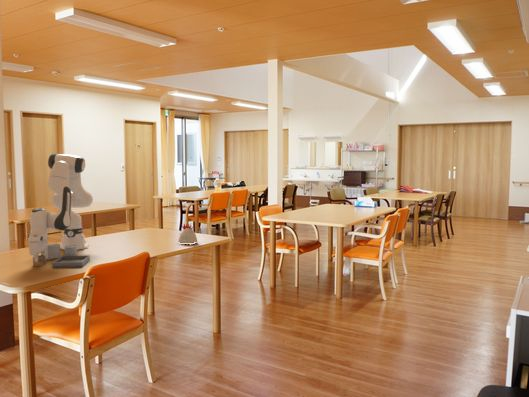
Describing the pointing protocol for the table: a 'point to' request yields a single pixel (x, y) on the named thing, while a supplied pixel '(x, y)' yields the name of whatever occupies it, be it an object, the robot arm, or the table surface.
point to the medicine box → (52, 251)
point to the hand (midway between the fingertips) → (39, 259)
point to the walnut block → (41, 260)
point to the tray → (70, 261)
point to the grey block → (71, 250)
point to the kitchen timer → (187, 235)
